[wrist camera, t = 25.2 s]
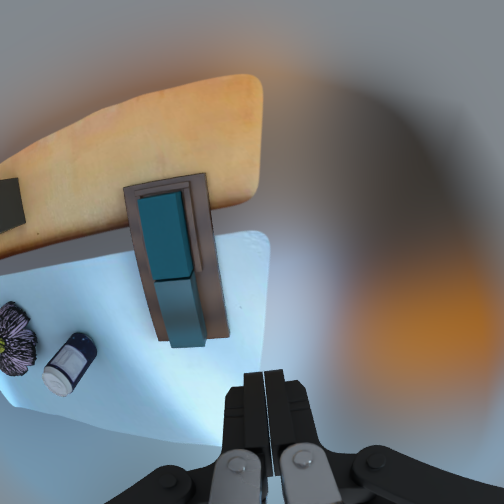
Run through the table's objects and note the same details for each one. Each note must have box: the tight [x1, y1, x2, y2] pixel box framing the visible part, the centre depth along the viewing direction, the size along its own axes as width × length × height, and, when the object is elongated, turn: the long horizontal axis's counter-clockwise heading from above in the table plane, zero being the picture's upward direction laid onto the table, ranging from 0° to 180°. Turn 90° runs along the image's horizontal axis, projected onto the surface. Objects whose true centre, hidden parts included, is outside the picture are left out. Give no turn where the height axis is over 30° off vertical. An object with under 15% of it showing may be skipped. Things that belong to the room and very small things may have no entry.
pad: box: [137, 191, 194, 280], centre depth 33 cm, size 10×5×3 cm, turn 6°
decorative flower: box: [0, 301, 38, 376], centre depth 36 cm, size 14×12×15 cm
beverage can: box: [42, 333, 97, 397], centre depth 35 cm, size 6×6×12 cm
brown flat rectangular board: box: [123, 173, 230, 348], centre depth 35 cm, size 23×11×4 cm, turn 6°
